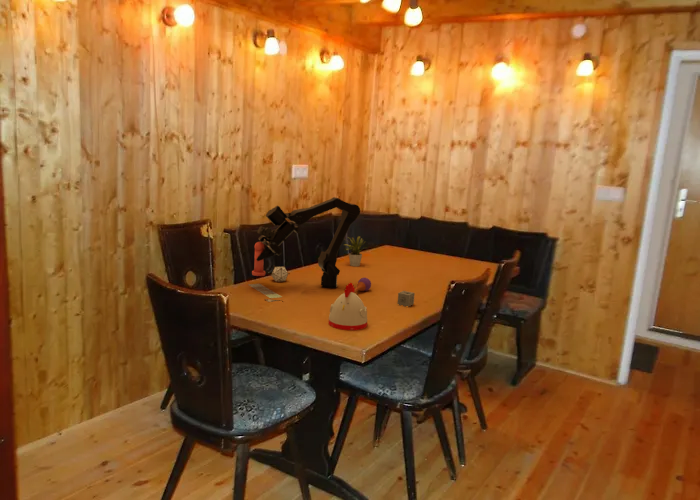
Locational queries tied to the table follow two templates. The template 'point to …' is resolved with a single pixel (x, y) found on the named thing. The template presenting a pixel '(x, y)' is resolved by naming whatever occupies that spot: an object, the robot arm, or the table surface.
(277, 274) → the game die
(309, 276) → the table surface
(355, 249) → the house plant
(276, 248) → the robot arm
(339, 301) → the kitchen timer
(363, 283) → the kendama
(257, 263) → the pawn
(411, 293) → the grey symbol cube
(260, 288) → the board
